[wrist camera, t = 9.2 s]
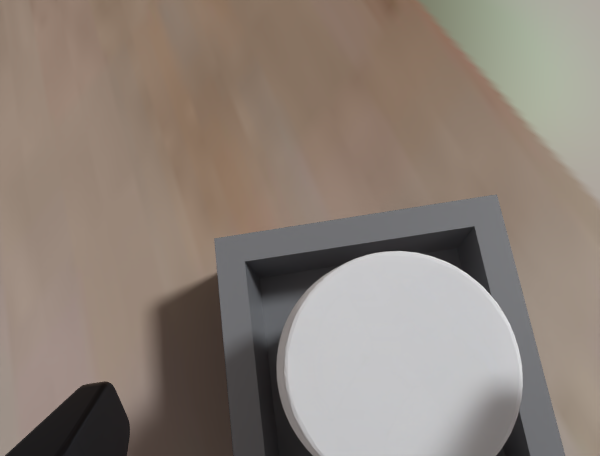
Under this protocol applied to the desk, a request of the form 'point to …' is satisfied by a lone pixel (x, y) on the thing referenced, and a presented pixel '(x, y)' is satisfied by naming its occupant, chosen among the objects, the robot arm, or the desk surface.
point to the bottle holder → (333, 253)
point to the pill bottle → (399, 362)
